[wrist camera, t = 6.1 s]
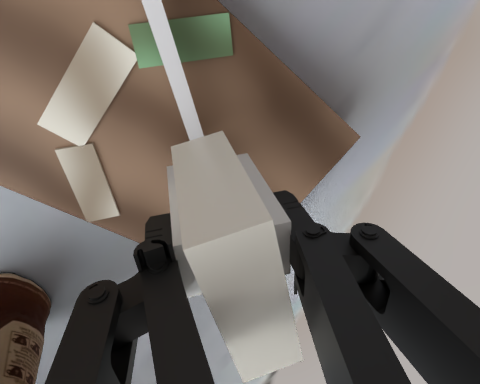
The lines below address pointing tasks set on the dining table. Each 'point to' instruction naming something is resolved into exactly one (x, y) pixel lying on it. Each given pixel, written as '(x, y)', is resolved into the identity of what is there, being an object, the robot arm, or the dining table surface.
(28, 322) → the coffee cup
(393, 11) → the dining table surface
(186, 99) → the white piece
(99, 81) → the board
